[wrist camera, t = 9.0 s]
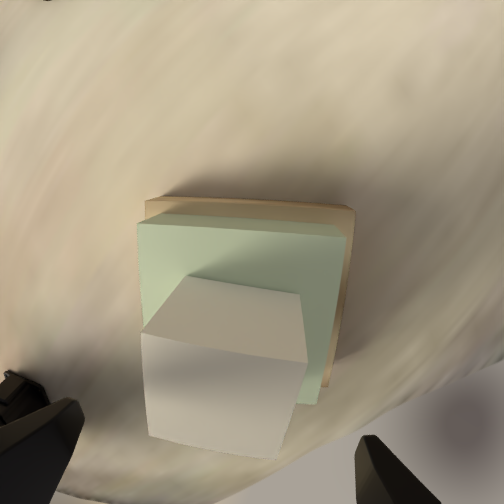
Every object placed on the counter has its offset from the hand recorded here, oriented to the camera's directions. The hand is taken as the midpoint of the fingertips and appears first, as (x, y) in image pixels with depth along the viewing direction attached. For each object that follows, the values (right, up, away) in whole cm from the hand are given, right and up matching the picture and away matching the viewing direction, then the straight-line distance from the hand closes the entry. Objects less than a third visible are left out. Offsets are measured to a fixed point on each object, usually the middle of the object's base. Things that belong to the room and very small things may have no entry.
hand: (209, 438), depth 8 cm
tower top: (+1, +3, +9) cm, 10 cm away
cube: (+1, +2, +6) cm, 7 cm away
